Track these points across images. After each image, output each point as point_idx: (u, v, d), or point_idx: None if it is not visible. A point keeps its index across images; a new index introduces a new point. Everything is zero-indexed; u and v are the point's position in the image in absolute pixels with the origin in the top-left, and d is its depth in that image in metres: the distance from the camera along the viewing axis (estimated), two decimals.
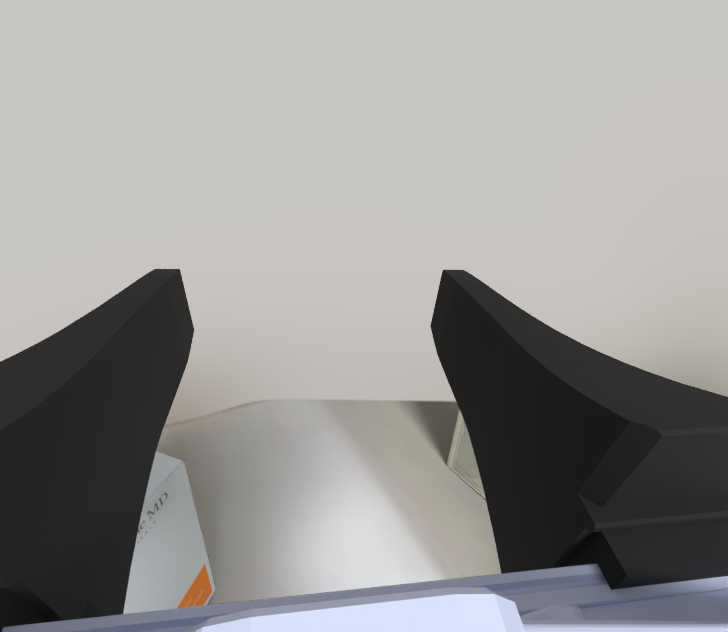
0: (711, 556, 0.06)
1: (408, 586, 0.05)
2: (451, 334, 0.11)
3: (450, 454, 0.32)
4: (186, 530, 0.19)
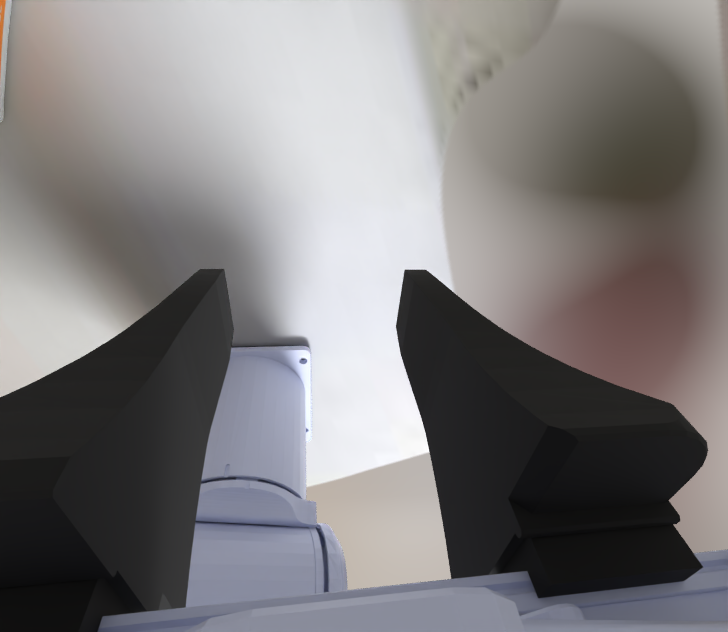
0: (641, 564, 0.05)
1: (408, 586, 0.05)
2: (411, 335, 0.11)
3: None
4: None
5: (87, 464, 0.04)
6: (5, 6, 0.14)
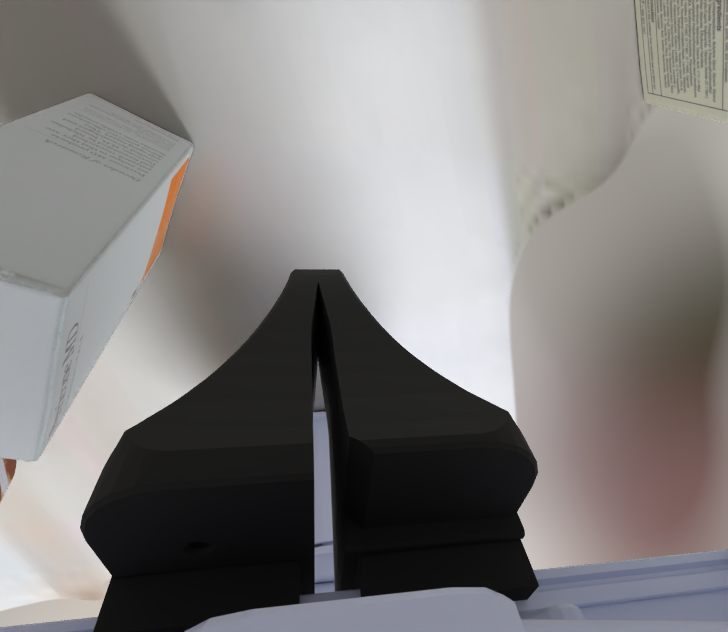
0: (473, 582, 0.05)
1: None
2: (320, 336, 0.10)
3: None
4: (131, 242, 0.11)
5: None
6: (182, 177, 0.17)
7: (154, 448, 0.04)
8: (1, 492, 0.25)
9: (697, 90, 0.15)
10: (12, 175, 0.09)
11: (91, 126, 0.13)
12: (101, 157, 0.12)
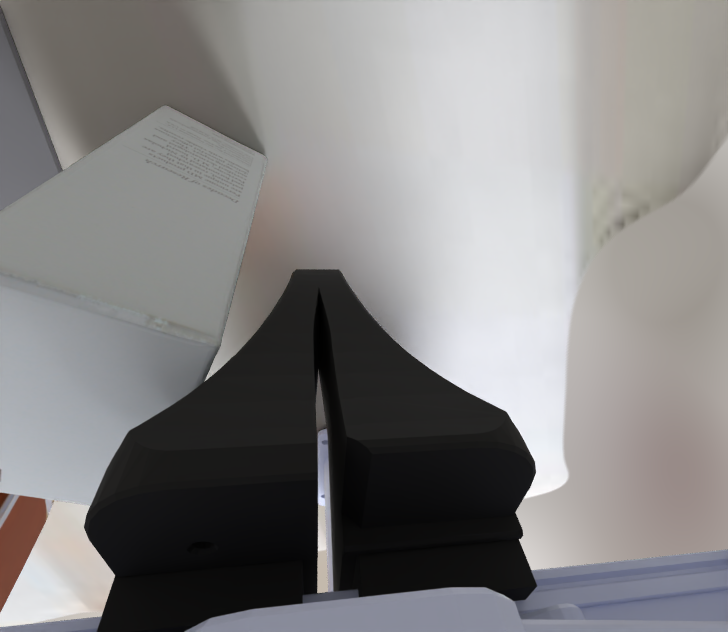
0: (471, 582, 0.05)
1: None
2: (319, 336, 0.10)
3: None
4: None
5: None
6: None
7: (158, 448, 0.04)
8: (46, 512, 0.24)
9: None
10: (129, 203, 0.09)
11: (179, 142, 0.13)
12: (198, 177, 0.11)
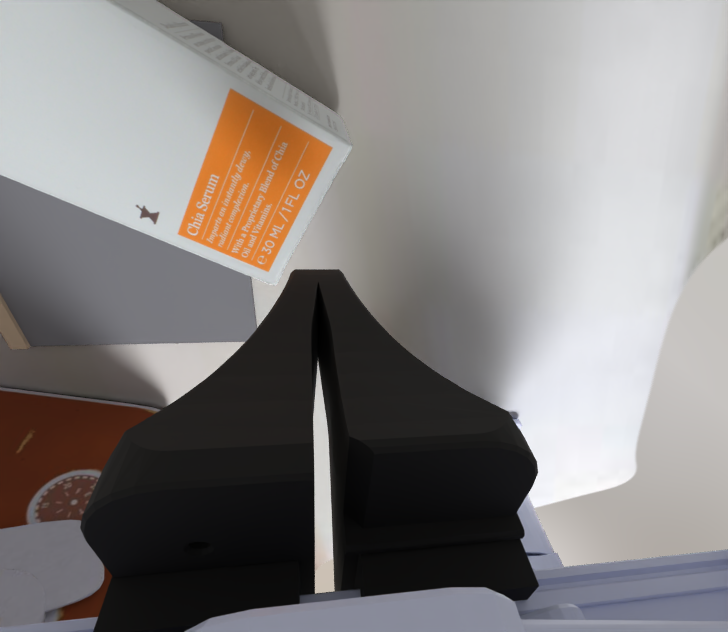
0: (473, 582, 0.05)
1: None
2: (320, 337, 0.10)
3: None
4: (57, 13, 0.10)
5: None
6: (316, 178, 0.13)
7: (154, 448, 0.04)
8: None
9: None
10: None
11: (260, 70, 0.13)
12: (191, 33, 0.12)
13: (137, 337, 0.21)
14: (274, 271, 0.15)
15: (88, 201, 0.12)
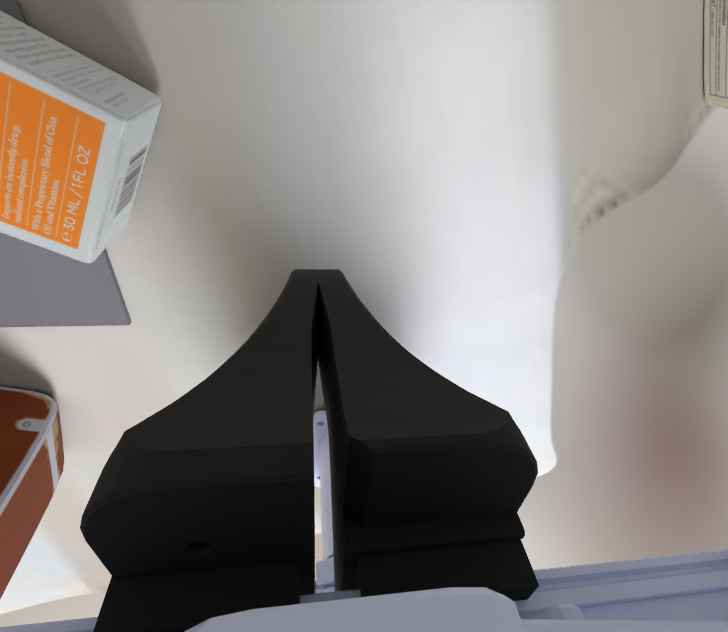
0: (473, 582, 0.05)
1: None
2: (320, 337, 0.10)
3: None
4: None
5: None
6: (98, 153, 0.13)
7: (154, 448, 0.04)
8: (53, 487, 0.25)
9: None
10: None
11: (49, 47, 0.13)
12: None
13: (3, 320, 0.21)
14: (83, 248, 0.15)
15: None
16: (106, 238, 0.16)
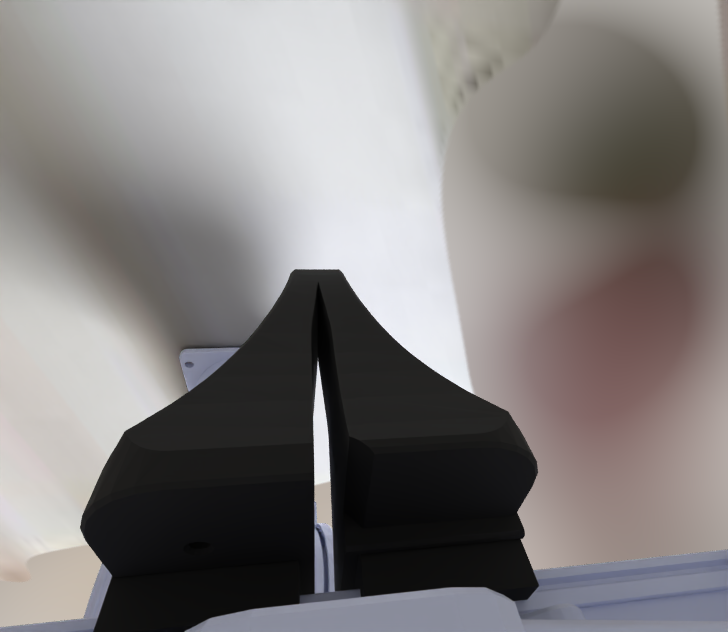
0: (473, 582, 0.05)
1: None
2: (320, 337, 0.10)
3: None
4: None
5: None
6: None
7: (154, 448, 0.04)
8: None
9: None
10: None
11: None
12: None
13: None
14: None
15: None
16: None
